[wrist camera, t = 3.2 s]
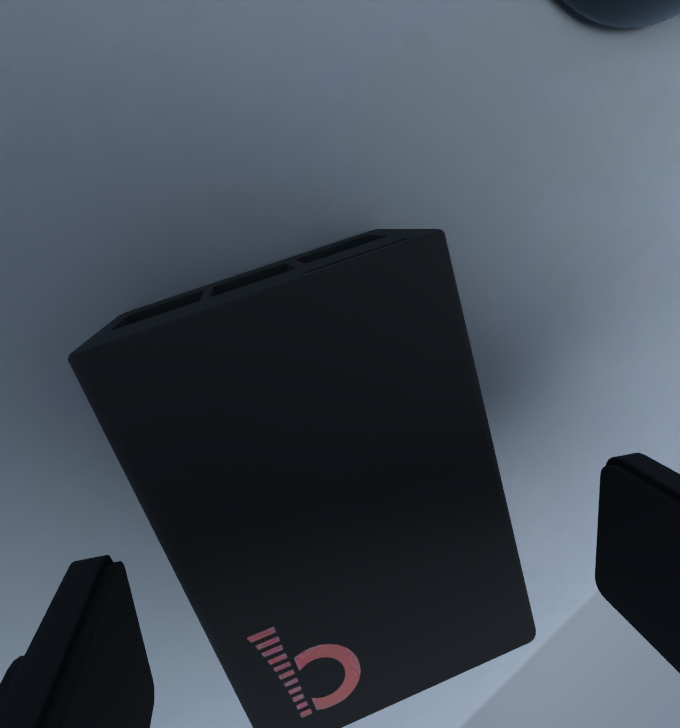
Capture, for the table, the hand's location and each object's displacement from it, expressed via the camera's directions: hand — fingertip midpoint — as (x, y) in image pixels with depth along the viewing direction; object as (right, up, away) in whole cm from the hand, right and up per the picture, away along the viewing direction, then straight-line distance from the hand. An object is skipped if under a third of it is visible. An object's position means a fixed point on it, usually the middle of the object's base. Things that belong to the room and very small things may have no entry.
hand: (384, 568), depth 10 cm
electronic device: (-2, +2, +6) cm, 7 cm away
